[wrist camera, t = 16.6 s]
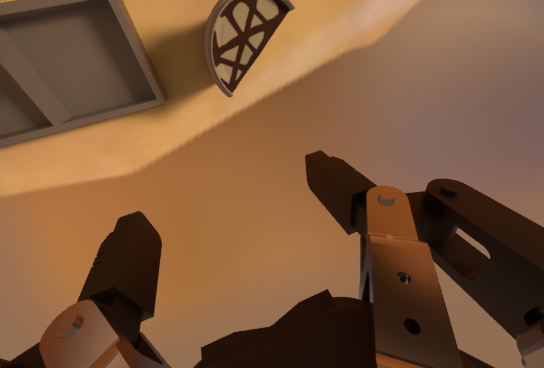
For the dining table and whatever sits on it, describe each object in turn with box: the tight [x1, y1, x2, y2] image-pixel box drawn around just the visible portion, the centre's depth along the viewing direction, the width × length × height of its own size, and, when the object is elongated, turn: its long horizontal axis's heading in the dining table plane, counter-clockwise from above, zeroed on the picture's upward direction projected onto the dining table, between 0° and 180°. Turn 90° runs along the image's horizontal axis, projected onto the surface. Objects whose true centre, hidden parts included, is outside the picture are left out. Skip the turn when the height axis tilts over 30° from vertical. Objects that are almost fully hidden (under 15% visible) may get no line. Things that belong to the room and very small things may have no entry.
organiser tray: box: [0, 0, 168, 147], centre depth 24 cm, size 12×26×4 cm, turn 103°
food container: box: [204, 0, 295, 97], centre depth 25 cm, size 12×6×10 cm, turn 141°
